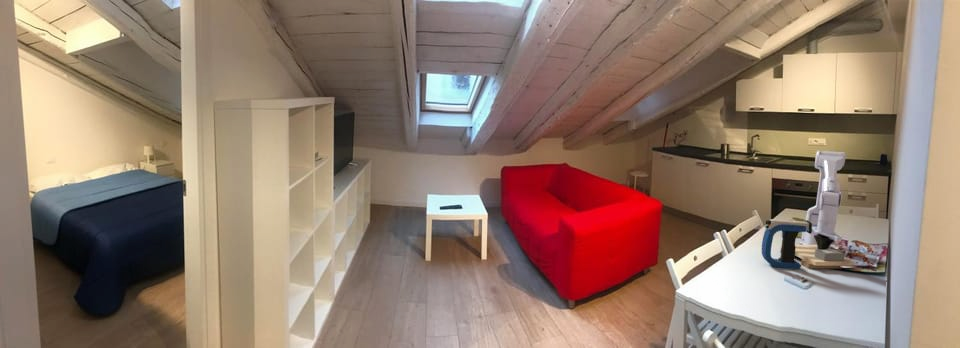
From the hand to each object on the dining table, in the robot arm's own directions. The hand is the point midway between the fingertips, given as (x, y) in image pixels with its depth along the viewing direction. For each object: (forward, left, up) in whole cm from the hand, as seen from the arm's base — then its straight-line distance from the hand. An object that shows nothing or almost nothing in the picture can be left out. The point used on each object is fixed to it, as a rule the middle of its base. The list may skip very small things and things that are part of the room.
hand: (821, 253), depth 186 cm
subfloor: (-3, 0, -4) cm, 5 cm away
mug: (-35, +18, -5) cm, 39 cm away
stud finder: (+4, 0, -1) cm, 4 cm away
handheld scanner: (+3, -18, -5) cm, 19 cm away
